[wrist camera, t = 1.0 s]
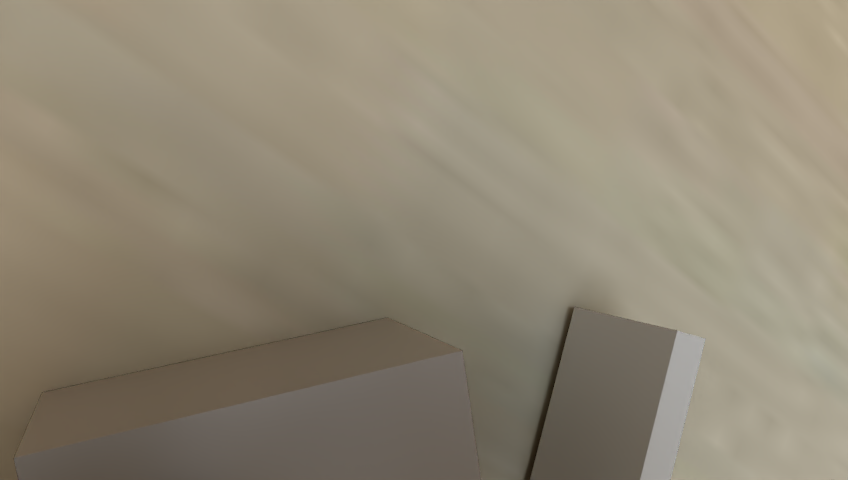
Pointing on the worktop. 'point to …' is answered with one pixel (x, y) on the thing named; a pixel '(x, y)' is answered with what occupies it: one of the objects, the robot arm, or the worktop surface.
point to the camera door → (617, 400)
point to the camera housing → (268, 415)
